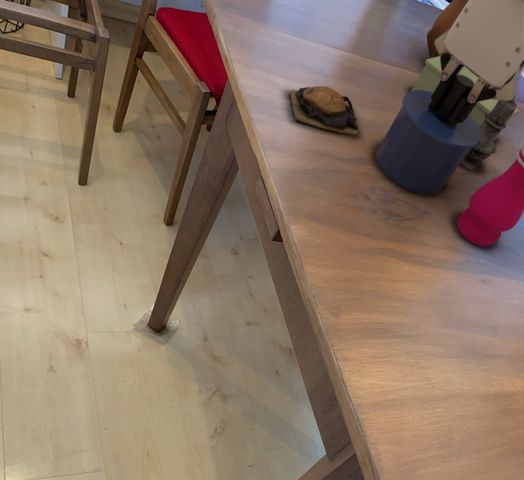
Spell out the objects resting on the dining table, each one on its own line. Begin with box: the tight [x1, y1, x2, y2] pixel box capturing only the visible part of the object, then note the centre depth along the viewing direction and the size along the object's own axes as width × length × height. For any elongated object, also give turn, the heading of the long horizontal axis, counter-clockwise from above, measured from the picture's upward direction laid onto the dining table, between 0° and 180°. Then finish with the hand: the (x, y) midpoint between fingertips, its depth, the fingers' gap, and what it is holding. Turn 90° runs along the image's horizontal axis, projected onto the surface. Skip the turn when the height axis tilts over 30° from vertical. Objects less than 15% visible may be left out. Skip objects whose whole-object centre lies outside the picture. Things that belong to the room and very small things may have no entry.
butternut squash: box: [426, 0, 479, 78], centre depth 100 cm, size 14×13×25 cm
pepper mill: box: [456, 144, 524, 248], centre depth 74 cm, size 7×7×20 cm
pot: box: [375, 106, 472, 195], centre depth 82 cm, size 11×11×8 cm
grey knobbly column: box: [459, 95, 517, 171], centre depth 88 cm, size 6×6×12 cm
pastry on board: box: [289, 85, 359, 136], centre depth 85 cm, size 11×8×4 cm
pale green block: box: [411, 56, 521, 141], centre depth 98 cm, size 17×8×6 cm, turn 44°
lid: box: [401, 75, 481, 149], centre depth 77 cm, size 12×12×7 cm
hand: (444, 114), depth 78 cm, fingers closed on lid, 2 cm apart
